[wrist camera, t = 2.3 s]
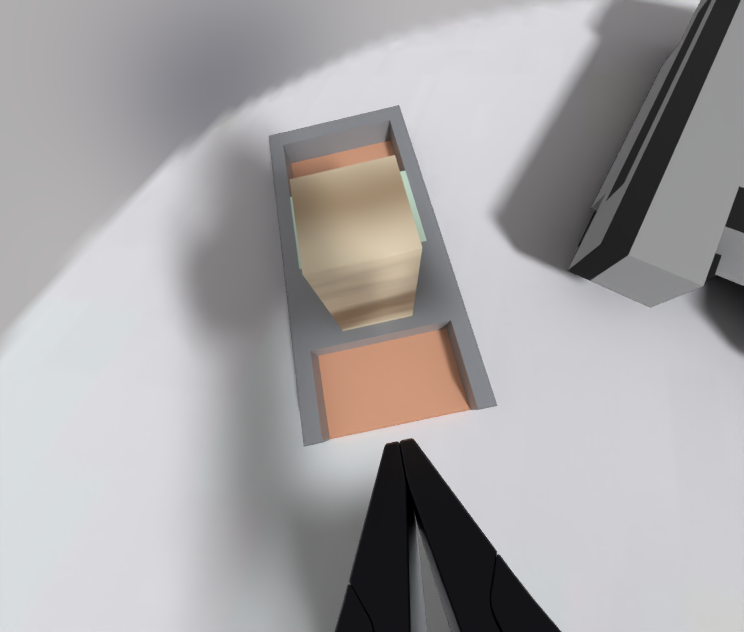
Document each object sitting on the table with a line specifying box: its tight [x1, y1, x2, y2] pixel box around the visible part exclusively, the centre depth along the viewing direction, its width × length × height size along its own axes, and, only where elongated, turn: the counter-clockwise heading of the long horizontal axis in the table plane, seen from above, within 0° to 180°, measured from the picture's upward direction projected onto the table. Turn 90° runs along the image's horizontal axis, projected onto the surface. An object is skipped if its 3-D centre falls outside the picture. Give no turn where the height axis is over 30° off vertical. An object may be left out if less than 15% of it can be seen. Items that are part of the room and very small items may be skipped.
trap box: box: [269, 105, 497, 446], centre depth 23 cm, size 27×12×2 cm, turn 11°
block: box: [290, 155, 422, 331], centre depth 17 cm, size 5×5×9 cm
